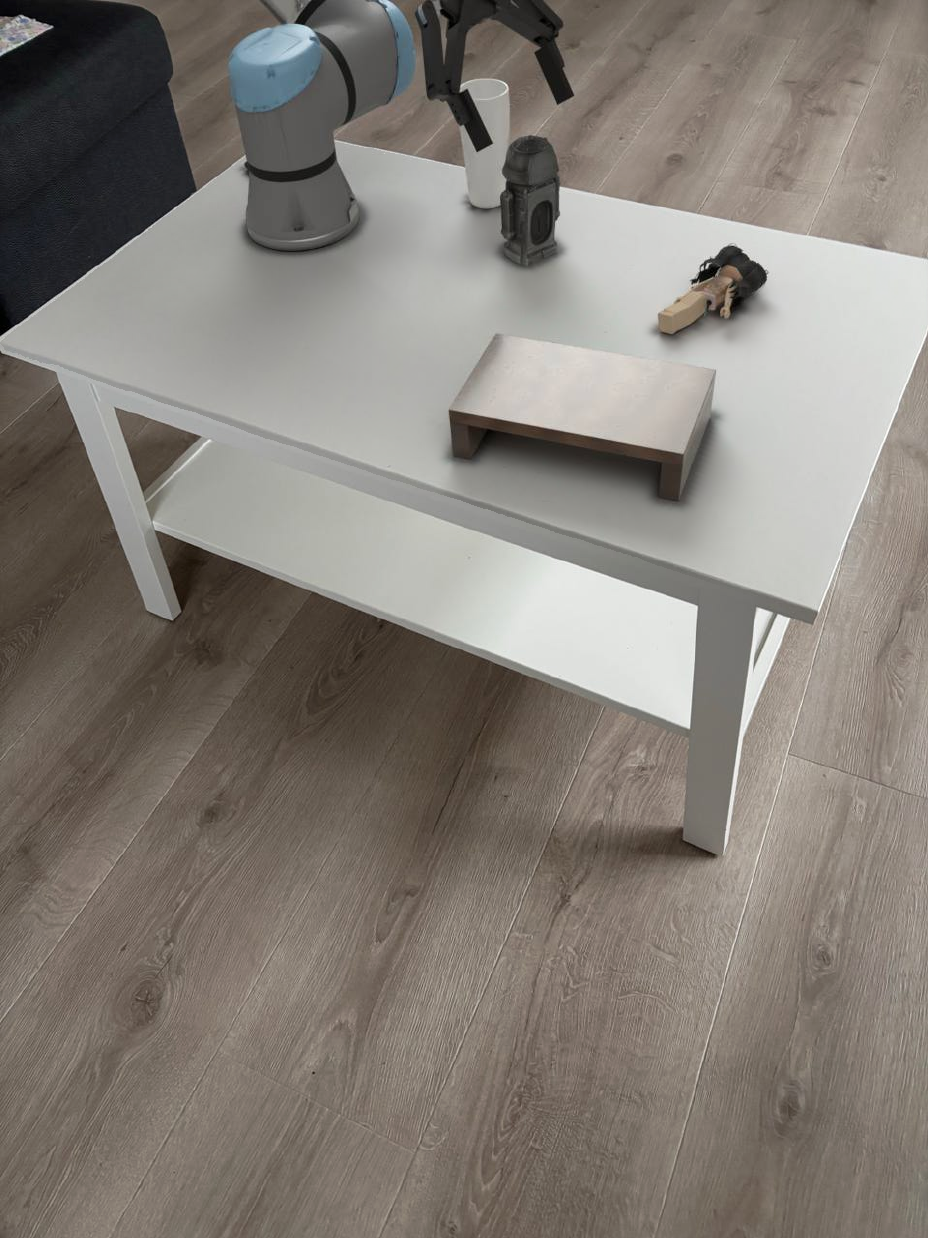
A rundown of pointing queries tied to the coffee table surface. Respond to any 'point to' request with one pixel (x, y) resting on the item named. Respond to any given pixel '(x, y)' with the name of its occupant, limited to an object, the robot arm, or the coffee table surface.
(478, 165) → the drinking glass
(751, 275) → the toy figure
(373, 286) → the coffee table surface
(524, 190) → the toy
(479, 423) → the shelf
